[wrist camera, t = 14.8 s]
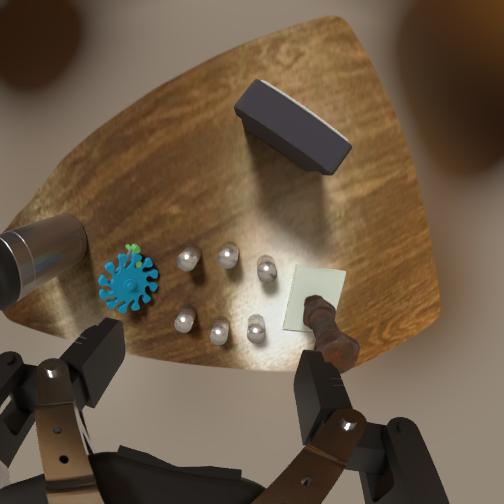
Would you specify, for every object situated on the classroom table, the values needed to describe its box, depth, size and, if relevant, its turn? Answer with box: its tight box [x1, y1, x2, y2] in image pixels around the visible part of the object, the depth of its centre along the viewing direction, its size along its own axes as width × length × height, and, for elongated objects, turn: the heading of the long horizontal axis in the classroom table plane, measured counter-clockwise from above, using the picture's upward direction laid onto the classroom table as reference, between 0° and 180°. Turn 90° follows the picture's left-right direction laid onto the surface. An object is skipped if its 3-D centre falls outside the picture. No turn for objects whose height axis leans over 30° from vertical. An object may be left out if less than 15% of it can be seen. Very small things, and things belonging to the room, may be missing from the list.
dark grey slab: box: [234, 79, 352, 175], centre depth 30 cm, size 11×4×15 cm, turn 55°
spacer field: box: [174, 242, 277, 345], centre depth 41 cm, size 14×15×4 cm
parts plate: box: [283, 264, 346, 332], centre depth 43 cm, size 8×11×1 cm
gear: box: [98, 244, 158, 313], centre depth 40 cm, size 11×6×10 cm
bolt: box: [303, 295, 360, 374], centre depth 36 cm, size 6×5×15 cm
